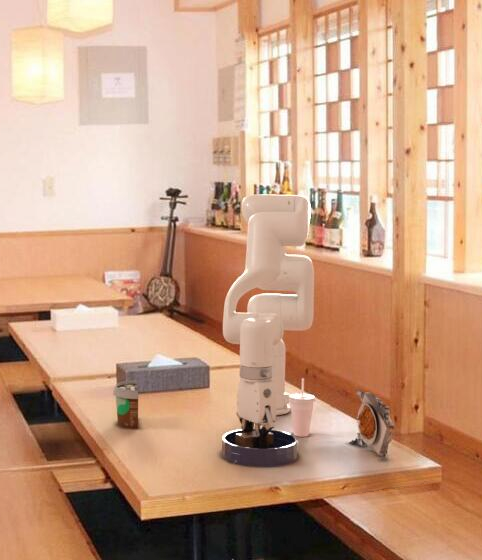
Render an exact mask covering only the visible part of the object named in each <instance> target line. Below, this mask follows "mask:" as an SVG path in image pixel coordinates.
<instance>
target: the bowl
mask: <svg viewBox="0 0 482 560" xmlns="http://www.w3.org/2000/svg"><path fill="white" fill-rule="evenodd" d="M253 430H255V428H254V429H253ZM270 432H271V433H273V434H274V440H273V448H269V449H259V448H247V447H241V446H237V445H235V434H238V433H243V431H242V430H241V429H235V430H231V431H229V432H226V433H224V434H223V435H222V437H221V453H222V457H223V458H224V460H226V461H228V462H230V463H233V464H237V465H241V466H248V467H257V468H259V467H260V468H263V467H264V468H265V467H266V468H267V467H269V468H270V467H280V466H284V465H285V466H286V465H288V464H291V463H293V462H295V461H296V460H297V459H298V446H299V445H298V443H299V442H298V441H299V440H298V437H297V436H295V435H294V434H292V433H289V432H286V431H282V430H279V429H271V430H270Z"/></svg>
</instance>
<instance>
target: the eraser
mask: <svg viewBox="0 0 482 560" xmlns="http://www.w3.org/2000/svg"><path fill="white" fill-rule="evenodd" d="M254 436H256V431H252V432H245V433H238V434H235V445H237V446H241V447H247V448H254ZM273 440H274V434H273V433H271V432H269V434H268V436H267V449H269V448H273Z"/></svg>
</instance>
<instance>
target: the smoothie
mask: <svg viewBox="0 0 482 560" xmlns="http://www.w3.org/2000/svg"><path fill="white" fill-rule="evenodd" d="M289 401H290V402H289V404H290V412H291V423H292V432H293V435H294V436H295V437H299V438H300V437H301V438H303V437H309V434H310V428H311V421H312V416H313V415H312V414H313V408H314V403H315V402H316V397H315V395H313V394H310V393H305V378H303V377H302V378H301V393H292V395H291V394H290V396H289Z"/></svg>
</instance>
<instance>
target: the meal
mask: <svg viewBox="0 0 482 560" xmlns="http://www.w3.org/2000/svg"><path fill="white" fill-rule="evenodd" d="M354 392H355V393H356V395H357V396H358V397H359V399H360V402H361V405H360V406H359V409H358V412H357V417H356V418H357V420H356V424H357V429H358V432H357V433H356V435H357V437H355V439H351V441H349V442H348V444H349V445H350V444H351V445H357V446H358V445H359V446H361V447H363V448H369V449H371V450H373V451H375V452H376V454H377V455H378V456H379V457H380V456H381V461H384V460H385V459H386V455H387V454H388V452H389V451H388V449H389V445H390V443H391V442H392V440H393V439H392V437H393V434H394V433H393V432H394V431H395V425H394V424H393V423H394V422H393V421H392V418H391V416H390V412H391V410H390V406H389V405H387V404H384V401H382V399H381V398H379V397H377V396H376V395H375V394H374V393H372V392H368V391H367V392H366V391H362V390H359V389H354ZM387 425H389V426H387ZM390 429H391V431H390ZM389 453H390V452H389Z"/></svg>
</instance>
